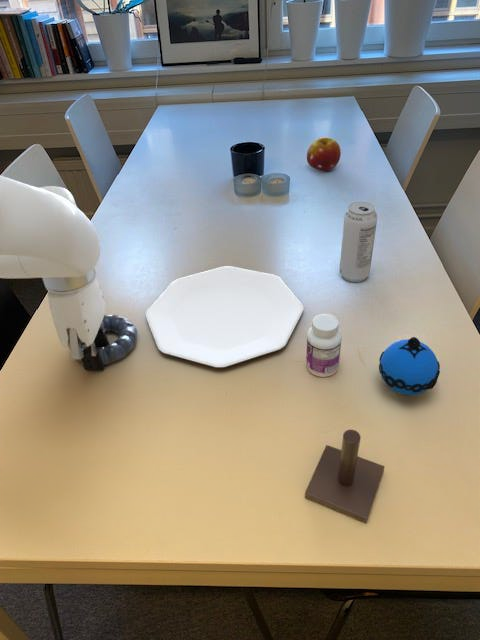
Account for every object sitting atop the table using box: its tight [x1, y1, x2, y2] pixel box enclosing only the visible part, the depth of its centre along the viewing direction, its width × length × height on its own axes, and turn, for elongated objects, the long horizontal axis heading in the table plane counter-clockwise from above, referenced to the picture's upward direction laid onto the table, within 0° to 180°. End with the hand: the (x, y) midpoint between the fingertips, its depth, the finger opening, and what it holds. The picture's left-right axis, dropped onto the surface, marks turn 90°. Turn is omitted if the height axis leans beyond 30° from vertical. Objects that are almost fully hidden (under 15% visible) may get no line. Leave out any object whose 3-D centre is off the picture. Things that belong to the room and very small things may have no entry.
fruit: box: [306, 136, 342, 172], centre depth 138 cm, size 10×9×8 cm
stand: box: [304, 429, 385, 524], centre depth 60 cm, size 8×8×10 cm
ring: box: [68, 314, 138, 366], centre depth 86 cm, size 12×12×3 cm
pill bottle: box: [305, 313, 343, 378], centre depth 77 cm, size 5×5×10 cm
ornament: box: [378, 336, 441, 396], centre depth 73 cm, size 9×9×10 cm
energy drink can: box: [339, 201, 378, 283], centre depth 94 cm, size 6×6×15 cm
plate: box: [144, 265, 304, 369], centre depth 91 cm, size 28×28×2 cm
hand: (98, 359), depth 84 cm, fingers closed on ring, 3 cm apart
